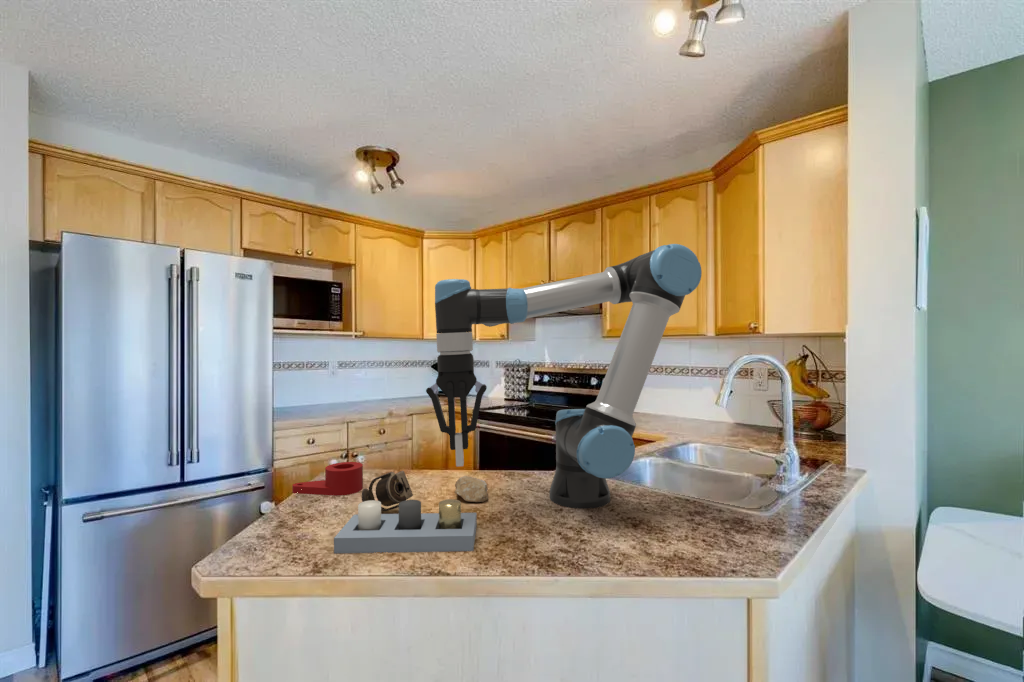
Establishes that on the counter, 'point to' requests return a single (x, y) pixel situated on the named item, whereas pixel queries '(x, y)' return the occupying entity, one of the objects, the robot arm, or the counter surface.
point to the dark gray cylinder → (410, 515)
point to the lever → (335, 481)
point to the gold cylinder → (450, 514)
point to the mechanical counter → (389, 490)
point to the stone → (471, 489)
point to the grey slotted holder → (407, 536)
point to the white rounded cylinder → (369, 515)
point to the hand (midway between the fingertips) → (460, 464)
